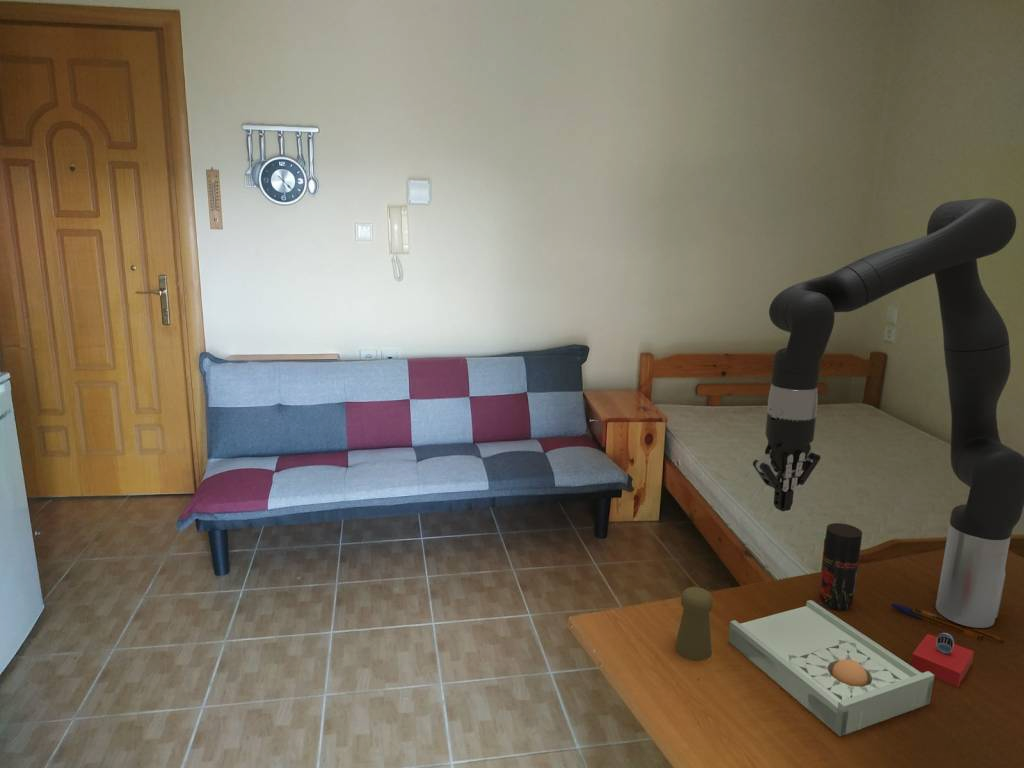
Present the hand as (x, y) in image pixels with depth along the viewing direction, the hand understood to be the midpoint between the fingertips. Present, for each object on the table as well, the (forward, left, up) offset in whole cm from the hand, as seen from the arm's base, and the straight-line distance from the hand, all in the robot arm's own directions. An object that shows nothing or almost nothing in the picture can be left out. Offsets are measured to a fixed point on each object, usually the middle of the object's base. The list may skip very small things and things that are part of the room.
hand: (782, 509), depth 118 cm
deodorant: (-17, -2, -23) cm, 29 cm away
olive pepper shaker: (+17, 0, -23) cm, 29 cm away
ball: (+1, +18, -21) cm, 27 cm away
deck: (+1, +13, -23) cm, 26 cm away
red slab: (-18, +19, -24) cm, 35 cm away
